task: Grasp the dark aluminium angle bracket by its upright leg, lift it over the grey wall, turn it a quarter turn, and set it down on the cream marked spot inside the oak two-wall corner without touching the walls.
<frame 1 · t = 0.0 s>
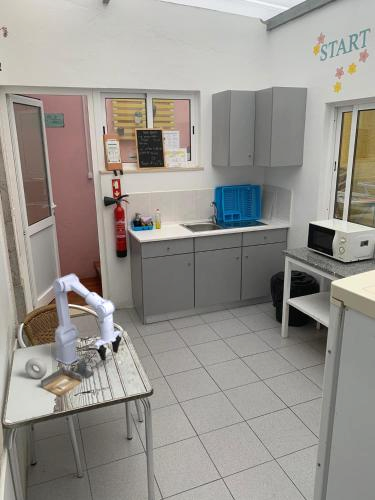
hand: (109, 356, 171), 10 cm above the table, tool pointing down, fingers open, 7 cm apart
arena: (62, 384, 168), on the table
donut: (37, 378, 174), on the table
bracket: (86, 374, 176), on the table
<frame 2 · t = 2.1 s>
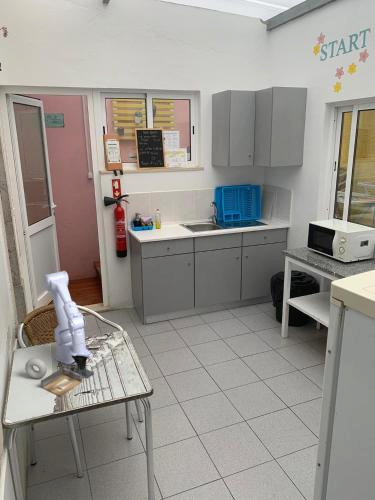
hand: (81, 368, 176), 2 cm above the table, tool pointing down, fingers closed on bracket
bracket: (86, 374, 176), on the table, touching gripper
everything else where it was.
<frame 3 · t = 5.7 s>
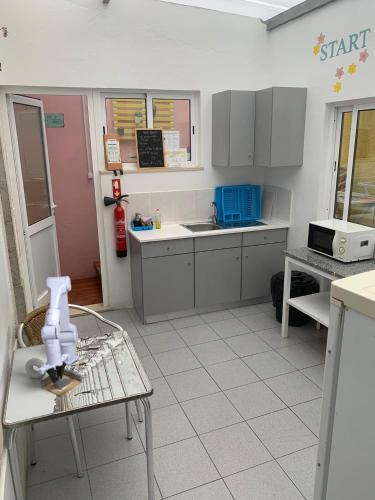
hand: (57, 380, 164), 4 cm above the table, tool pointing down, fingers closed
bracket: (62, 385, 167), point 1 cm above the table, touching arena
everything else where it was.
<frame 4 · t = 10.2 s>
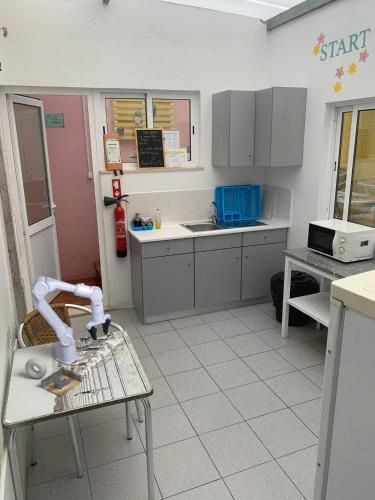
hand: (100, 336, 191), 9 cm above the table, tool pointing down, fingers open, 7 cm apart
nothing on the table moved.
at the end: bracket 0.3 cm off-centre on the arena, point 0.7 cm above the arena's base; bracket tilted 0°; the gripper is holding nothing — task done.
